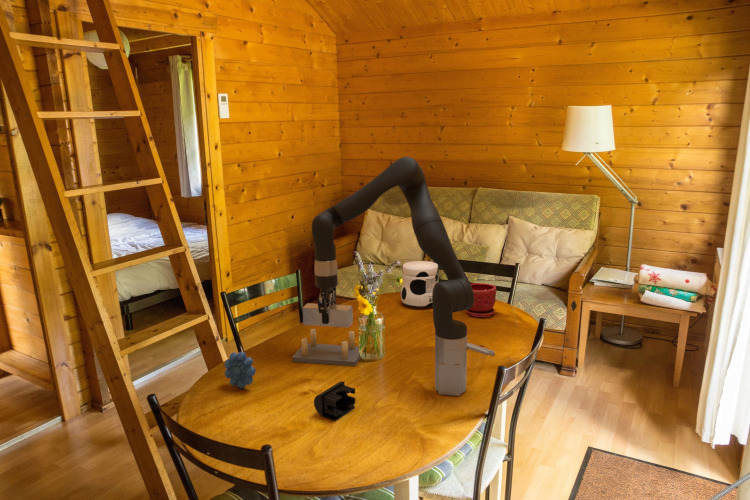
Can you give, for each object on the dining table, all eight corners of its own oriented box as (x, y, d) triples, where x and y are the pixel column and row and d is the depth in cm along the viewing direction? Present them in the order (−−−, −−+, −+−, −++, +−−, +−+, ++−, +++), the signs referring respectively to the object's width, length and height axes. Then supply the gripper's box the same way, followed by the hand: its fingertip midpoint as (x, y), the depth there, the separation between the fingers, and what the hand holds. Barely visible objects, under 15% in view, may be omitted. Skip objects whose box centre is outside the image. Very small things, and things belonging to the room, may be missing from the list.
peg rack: (355, 366, 181) (354, 344, 180) (292, 361, 186) (291, 340, 184) (364, 350, 194) (364, 330, 192) (305, 346, 198) (304, 327, 197)
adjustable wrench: (496, 356, 188) (496, 351, 188) (484, 361, 184) (484, 356, 184) (443, 335, 207) (443, 331, 207) (431, 340, 203) (431, 335, 203)
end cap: (336, 400, 159) (336, 378, 157) (356, 407, 155) (356, 384, 153) (313, 415, 151) (312, 392, 149) (334, 422, 147) (333, 399, 145)
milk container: (406, 297, 255) (406, 259, 251) (443, 300, 249) (443, 261, 245) (396, 308, 239) (395, 268, 235) (435, 312, 233) (435, 270, 229)
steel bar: (348, 327, 183) (348, 310, 182) (303, 324, 187) (302, 307, 185) (352, 322, 188) (352, 305, 187) (308, 319, 191) (307, 303, 190)
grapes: (265, 386, 168) (262, 349, 166) (250, 395, 163) (248, 357, 160) (235, 378, 174) (233, 343, 171) (220, 387, 168) (217, 350, 165)
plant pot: (500, 312, 232) (500, 284, 229) (488, 321, 221) (489, 292, 218) (470, 307, 238) (471, 280, 236) (458, 316, 228) (458, 288, 225)
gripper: (330, 278, 176) (332, 328, 179) (342, 267, 189) (344, 314, 193) (308, 277, 177) (310, 327, 181) (322, 266, 191) (323, 313, 195)
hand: (328, 320), depth 187 cm, fingers closed on steel bar, 5 cm apart
